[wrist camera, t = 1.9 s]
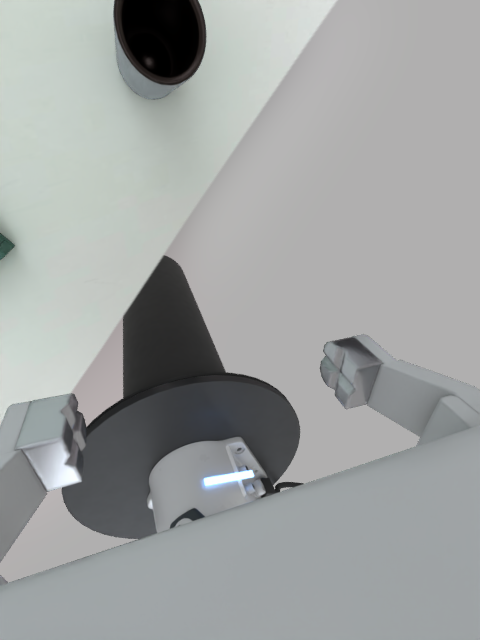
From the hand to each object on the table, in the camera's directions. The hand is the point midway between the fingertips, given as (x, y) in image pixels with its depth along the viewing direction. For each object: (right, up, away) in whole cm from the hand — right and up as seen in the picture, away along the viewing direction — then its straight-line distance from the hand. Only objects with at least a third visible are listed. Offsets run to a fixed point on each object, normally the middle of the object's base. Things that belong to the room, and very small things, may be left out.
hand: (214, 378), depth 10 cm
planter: (-6, +22, +14) cm, 26 cm away
